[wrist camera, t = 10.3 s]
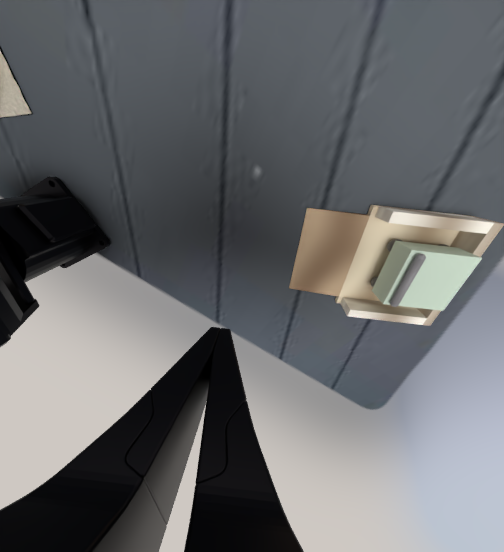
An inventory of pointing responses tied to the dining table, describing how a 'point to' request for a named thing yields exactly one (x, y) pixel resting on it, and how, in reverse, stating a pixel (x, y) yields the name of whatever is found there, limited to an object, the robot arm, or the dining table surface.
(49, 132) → the dining table surface
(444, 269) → the pale green pegged cube
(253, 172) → the dining table surface
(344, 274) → the dock
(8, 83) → the condiment
